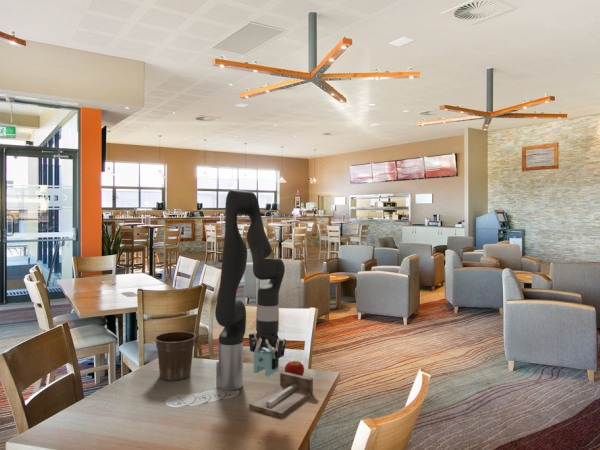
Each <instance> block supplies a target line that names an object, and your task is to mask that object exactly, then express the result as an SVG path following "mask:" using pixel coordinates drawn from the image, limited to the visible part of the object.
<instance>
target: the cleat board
mask: <svg viewBox="0 0 600 450" xmlns="http://www.w3.org/2000/svg"><path fill="white" fill-rule="evenodd" d="M313 392H314V378H313V377H308V376H305V375H303V376H301V375H296V374H292V373H288V372H285V371H282V372H280V373H279V385H278V386H277V385H276V387H274V388H273V389H271V390H269V391H268V392H267V393H264V394H263V395H261V396H260V397H259V398H257V399H255V400H254V401H252V402H251V403H249V404H248V409H249V410H252V411H256V412H260V413H263V414H266V415H270V416H274V417H278V418H280V419H281V418H284V417H285V416H286V415H288V413H290V412H291V411H293V409H295V408H297V407H299V405H300V404H302V403H303V402H304V401H306V400H307V399H309V398H310V397H311V396H312V395H313V394H314V393H313Z"/></svg>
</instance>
